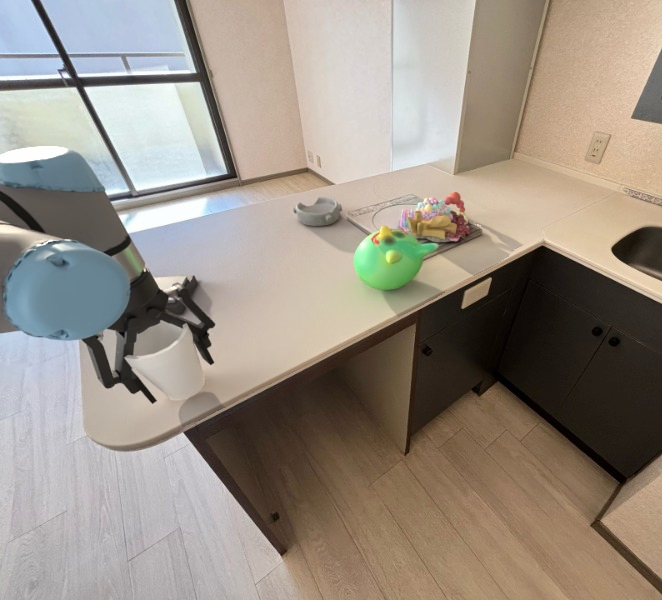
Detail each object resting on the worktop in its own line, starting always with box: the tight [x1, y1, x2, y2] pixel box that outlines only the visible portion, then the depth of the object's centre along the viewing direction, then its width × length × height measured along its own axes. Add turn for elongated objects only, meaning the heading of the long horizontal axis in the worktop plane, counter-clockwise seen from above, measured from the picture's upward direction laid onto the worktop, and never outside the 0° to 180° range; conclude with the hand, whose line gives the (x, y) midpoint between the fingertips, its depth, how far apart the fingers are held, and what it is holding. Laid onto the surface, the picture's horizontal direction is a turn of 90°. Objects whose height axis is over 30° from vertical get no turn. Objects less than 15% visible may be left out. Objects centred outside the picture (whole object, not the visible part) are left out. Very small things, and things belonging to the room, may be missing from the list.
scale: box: [153, 274, 198, 316], centre depth 76 cm, size 14×12×3 cm
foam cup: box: [124, 320, 206, 402], centre depth 55 cm, size 10×9×13 cm
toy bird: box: [353, 224, 440, 291], centre depth 81 cm, size 18×17×15 cm
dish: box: [292, 196, 343, 227], centre depth 110 cm, size 14×14×5 cm
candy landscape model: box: [399, 191, 472, 243], centre depth 107 cm, size 25×24×9 cm
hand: (181, 378), depth 57 cm, fingers closed on foam cup, 9 cm apart
